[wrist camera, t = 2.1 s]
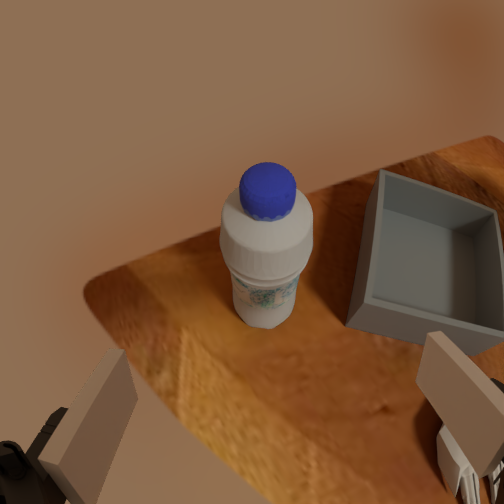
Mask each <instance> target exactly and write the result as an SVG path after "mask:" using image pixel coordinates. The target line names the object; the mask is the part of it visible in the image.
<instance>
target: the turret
mask: <svg viewBox="0 0 504 504" xmlns="http://www.w3.org/2000/svg"><path fill="white" fill-rule="evenodd" d="M436 440H437V456H438V465H439V467H440V469H441V471H442V473H443V475H444V477H445V479H446V481H447V483H448V485H449V487H450V489H451V491H452V493H453V495H454V497H456V493H457V489H458V486H459V487H460V488H461V495H462V499H463V502H464V504H480V496H479V480H478V475H477V474H476V472H475V471H474V469H473V467H472V466H471V464H470V463H469V461H468V459H467V458H466V456H465V455H464V453H463V452H462V450H461V448H460V447H459V445H458V444H457V442H456V441H455V439H454V438H453V436H452V435H451V433H450V432H449V430H448V429H447V427H446V426H445V424H444V423H443V424H442V426H441V428H440V431H439V433H438V435H437V437H436ZM503 467H504V464H503V462H502V461H501V462H500V464H499V465H498V467H497V468H496V469H495V471H494V472H492V473H490V474H488V479H489V480H490V490H491V502H492V504H495V501H496V496H497V492H498V487H499V485H498V484H499V482H500V479H499V480H498V481H497V482H496V484H495V485H493V482H494V480H495V479H496V477H497V476H498V474H499V473H500V472H501V470H502V469H503Z"/></svg>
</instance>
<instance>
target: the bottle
mask: <svg viewBox="0 0 504 504" xmlns="http://www.w3.org/2000/svg"><path fill="white" fill-rule="evenodd" d="M312 247H313V212H312V209H311V206H310V204H309V202H308V200H307V198H306V197H305V196H304V195H303V193H302V192H300V191H299V190H298V189H297V188H296V182H295V180H294V177H293V176H292V174H291V173H290V172H289V170H287V169H286V168H285V167H283V166H281V165H279V164H276V163H271V162H269V163H268V162H265V163H259V164H256V165H254V166H252V167H250V168H249V169H248V170H247V171H245V173H244V174H243V175H242V178H241V180H240V185H239V187H238V188H236V189H235V190H234V191H233V192H232V193H231V194H230V195H229V196H228V198H227V199H226V201H225V203H224V205H223V209H222V215H221V232H220V248H221V251H222V254H223V258H224V261H225V263H226V265H227V267H228V268H229V270H230V273H231V279H232V285H233V302H234V307H235V310H236V312H237V313H238V315H239V316H240V317H241V318H242V320H243V321H244V322H245V323H246V324H247V325H249V326H251V327H259V328H266V329H271V328H274V327H276V326H277V325H279V324H280V323H282V322H283V321H284V320H285V319H287V318H288V317H289V315H290V314H291V312H292V309H293V307H294V303H295V296H296V287H297V284H298V280H299V276H300V273H301V272H302V270H303V269H304V267H305V266H306V264H307V262H308V259H309V256H310V254H311V251H312Z"/></svg>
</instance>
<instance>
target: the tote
mask: <svg viewBox="0 0 504 504" xmlns="http://www.w3.org/2000/svg"><path fill="white" fill-rule="evenodd" d="M345 326H346V327H350V328H354V329H358V330H362V331H365V332H369V333H374V334H378V335H382V336H386V337H390V338H394V339H398V340H403V341H407V342H411V343H415V344H420V345H424V346H425V341H426V337H427V333H430V332H436V331H442V332H443V333H444V334H445V335H446V336H447V337H448V338H449V339H450V340H451V341H452V342H453V343H454V344H455V345H456V346H457V347H458V348H459V349H460V350H461V351H462V352H463V353H464V354H466V355H471V356H475V355H477V354H479V353H481V352H483V351H485V350H487V349H489V348H491V347H493V346H495V345H497V344H499V343H501V342H503V341H504V253H503V246H502V239H501V232H500V226H499V220H498V215H497V210H494V209H492V208H489V207H487V206H485V205H482V204H480V203H477V202H475V201H472V200H470V199H467V198H464V197H462V196H459V195H457V194H454V193H451V192H448V191H446V190H443V189H440V188H437V187H435V186H432V185H429V184H426V183H423V182H420V181H417V180H414V179H411V178H408V177H405V176H402V175H399V174H395V173H392V172H389V171H386V170H382V169H380V170H379V173H378V176H377V178H376V181H375V183H374V186H373V189H372V191H371V194H370V196H369V199H368V201H367V203H366V209H365V216H364V224H363V231H362V237H361V244H360V250H359V256H358V262H357V268H356V274H355V279H354V285H353V290H352V295H351V300H350V305H349V310H348V315H347V319H346V324H345Z"/></svg>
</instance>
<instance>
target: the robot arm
mask: <svg viewBox="0 0 504 504" xmlns="http://www.w3.org/2000/svg"><path fill="white" fill-rule="evenodd" d="M416 383H417V385H418V386H419V388H420V389H421V391H422V392H423V393H424V395H425V396H426V398H427V399H428V401H429V402H430V404H431V405H432V406H433V408H434V409H435V411H436V412H437V414H438V415H439V417H440V418H441V420H442V421H443V423H444V424H445V426H446V427H447V429H448V430H449V432H450V433H451V435H452V436H453V438H454V439H455V441H456V442H457V444H458V445H459V447H460V448H461V450H462V452H463V453H464V455H465V456H466V458H467V459H468V461H469V463H470V464H471V466H472V467H473V469H474V471H475V472H476V474H477V475H478V477H479V479H480V478H482V477H484V476H486V475H488V474H490V473H492V472H494V471H495V469H496V468H497V467H498V465H499V464H500V462H501V461H502V462H503V464H504V384H503V383H501V382H499V381H497V380H496V379H494V378H491V379H489V378H488V377H487V376H486V375H485V374H484V373H483V372H482V371H481V370H480V369H479V368H478V367H477V366H476V365H475V364H474V363H473V362H472V361H471V360H470V359H469V358H468V357H467V356H466V355H465V354H464V353H463V352H462V351H461V350H460V349H459V348H458V347H457V346H456V345H455V344H454V343H453V342H452V341H451V340H450V339H449V338H448V337H447V336H446V335H445V334H444V333H443V332H442V331H436V332H430V333H427V337H426V341H425V346H424V350H423V354H422V359H421V363H420V367H419V370H418V374H417V378H416ZM137 400H138V397H137V393H136V390H135V387H134V383H133V380H132V376H131V372H130V368H129V364H128V360H127V356H126V352H125V350H124V349H109V350H108V351H107V352H106V354H105V355H104V357H103V358H102V359H101V361H100V362H99V364H98V365H97V367H96V368H95V370H94V371H93V373H92V374H91V376H90V377H89V379H88V380H87V382H86V383H85V385H84V386H83V387H82V389H81V391H80V392H79V394H78V395H77V397H76V398H75V400H74V401H73V403H72V404H71V406H70V407H69V408H63V407H60V408H59V409H58V410H56V411H55V412H54V413H52V414H51V416H50V417H49V418H48V420H47V422H46V423H45V425H44V426H43V427H42V429H41V432H40V433H38V435H37V437H36V438H35V440H34V441H33V443H32V444H31V446H30V447H29V449H28V450H27V452H26V454H25V453H24V452H23V450H22V449H21V447H20V446H19V445H18V444H17V443H16V442H12V441H2V442H0V504H65V501H66V499H67V500H68V501H69V502H70V503H71V504H96V503H97V500H98V497H99V495H100V492H101V489H102V487H103V484H104V482H105V479H106V476H107V474H108V471H109V469H110V466H111V464H112V461H113V458H114V456H115V454H116V451H117V448H118V446H119V443H120V441H121V438H122V436H123V434H124V431H125V429H126V427H127V424H128V422H129V419H130V417H131V415H132V412H133V409H134V407H135V405H136V403H137ZM499 479H500V482H499V484H498V485H499V487H498V492H497V496H496V501H495V504H504V467H503V469H502V470H501V472H500V473H499V474H498V476H497V477H496V479H495V480H494V482H493V485H495V484H496V482H497V481H498V480H499Z"/></svg>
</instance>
